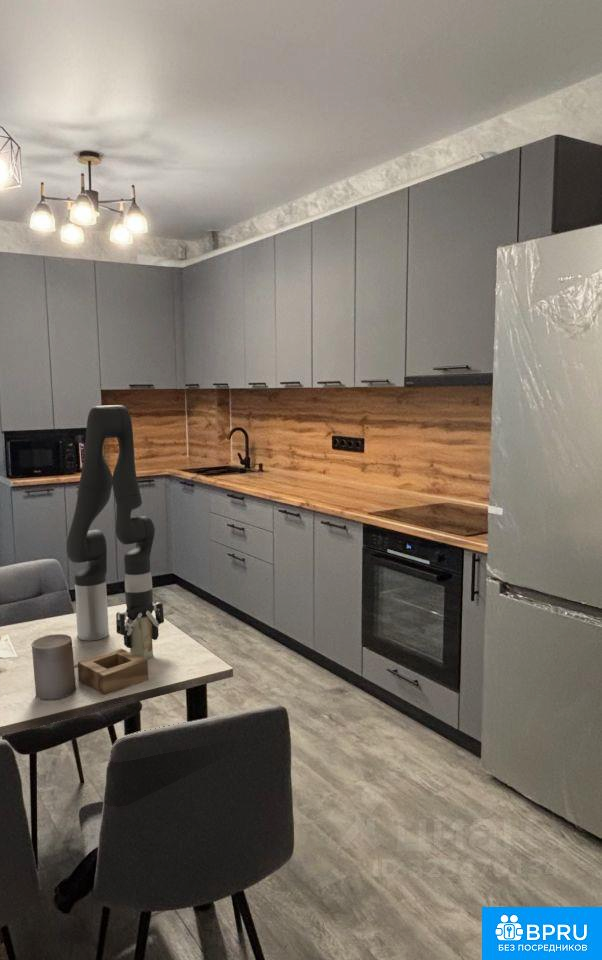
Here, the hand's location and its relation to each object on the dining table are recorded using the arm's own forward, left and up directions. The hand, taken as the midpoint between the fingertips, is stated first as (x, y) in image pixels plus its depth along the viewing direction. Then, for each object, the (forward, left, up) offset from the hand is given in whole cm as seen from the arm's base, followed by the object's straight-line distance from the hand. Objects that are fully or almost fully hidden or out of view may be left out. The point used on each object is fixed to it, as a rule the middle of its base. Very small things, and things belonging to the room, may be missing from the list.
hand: (141, 643), depth 201 cm
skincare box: (0, 0, -5) cm, 5 cm away
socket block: (+8, -14, -4) cm, 17 cm away
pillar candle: (+3, -28, -5) cm, 28 cm away
